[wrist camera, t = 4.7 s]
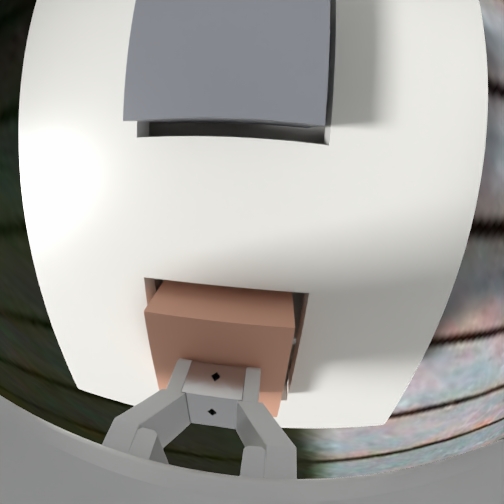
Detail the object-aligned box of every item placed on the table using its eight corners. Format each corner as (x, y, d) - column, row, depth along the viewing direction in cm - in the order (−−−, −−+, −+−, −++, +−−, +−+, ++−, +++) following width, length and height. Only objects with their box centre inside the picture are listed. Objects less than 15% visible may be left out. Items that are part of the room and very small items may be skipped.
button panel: (109, 340, 19) (78, 388, 14) (95, 4, 10) (43, -21, 5) (367, 367, 18) (384, 424, 13) (426, 15, 9) (475, -15, 5)
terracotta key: (183, 345, 15) (162, 402, 11) (177, 261, 13) (143, 311, 9) (277, 356, 15) (277, 417, 11) (290, 271, 13) (295, 327, 9)
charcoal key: (172, 122, 10) (122, 121, 6) (182, 8, 8) (143, -35, 4) (306, 128, 10) (324, 125, 6) (312, 9, 8) (329, -41, 4)
